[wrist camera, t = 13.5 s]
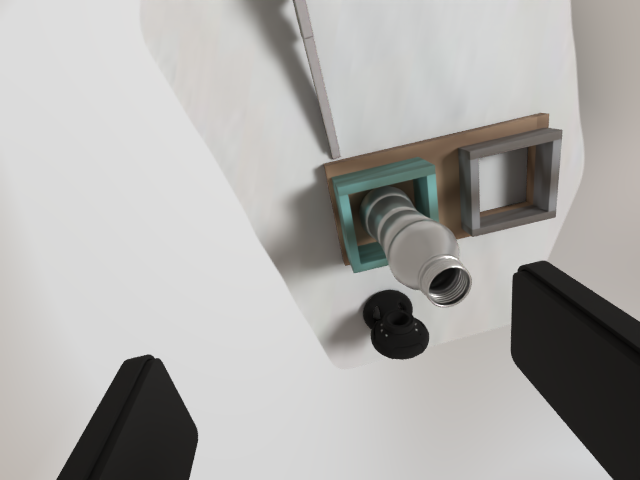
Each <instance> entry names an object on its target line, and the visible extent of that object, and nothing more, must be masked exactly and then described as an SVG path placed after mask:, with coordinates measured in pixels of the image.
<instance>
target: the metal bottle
mask: <svg viewBox="0 0 640 480" xmlns="http://www.w3.org/2000/svg"><path fill="white" fill-rule="evenodd" d="M359 214H360V221H361V224H362V227H363V229H364V230H365V231H366V232H367V233H368V234H369V235H370V236H371V237H372V238H374V239H375V240H377V241H378V242H379V243H380V245H381V246H382V248H383V250H384V252H385V255H386V258H387V261H388V264H389V267H390V270H391V272H392V274H393V275H394V277H395V278H396V279H397V280H398V281H399V282H400V283H402V284H403V285H405V286H407V287H409V288H411V289H415V290H421V291H422V292H423V293H424V295H426V296H427V298H428V299H429V300H430V301H431V302H432V303H433V304H434V305H436V306H439V307H450V306H454V305H456V304H458V303H460V302H461V301H462V300H463V299H464V298H465V297H466V296H467V295H468V293H469V291H470V289H471V285H472V279H471V276H470V274H469V272H468V271H467V269H466V268H465V267H464V266H463V264H462V263H461V262H460V260H459V257H460V250H459V246H458V243H457V240H456V238H455V236H454V234H453V233H452V232H451V230H450V229H448V228H447V227H446V226H444V225H443V224H441V223H439V222H437V221H434V220H432V219H430V218H428V217H426V216H424V215H423V214H421V213H420V212H418V211H417V210H416V209H415V207H414V206H413V204H412V202H411V200H410V199H409V197H408V196H407V195H406V194H405V193H404V192H403V191H402V190H400V189H398V188H395V187H391V186H382V187H378V188H375V189H373V190H371V191H370V192H369V193H368V194H367V195H366V196H365V197H364V199H363V201H362V203H361V206H360V211H359Z"/></svg>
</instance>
